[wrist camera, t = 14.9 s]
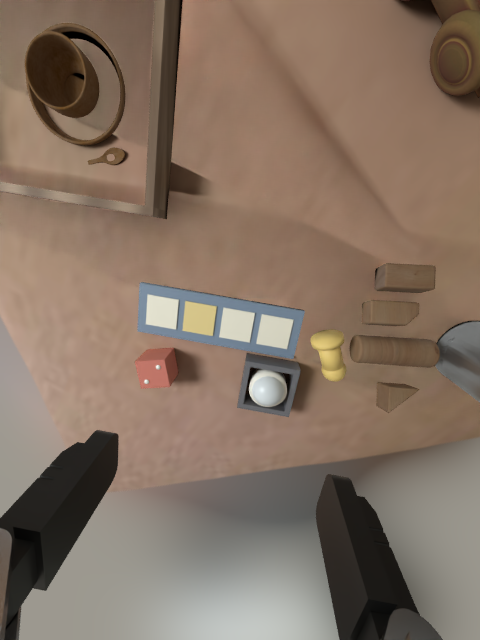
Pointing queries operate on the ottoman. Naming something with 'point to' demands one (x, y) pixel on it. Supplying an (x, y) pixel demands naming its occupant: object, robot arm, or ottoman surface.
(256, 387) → the dome
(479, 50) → the wooden toy train
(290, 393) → the base
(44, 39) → the place setting
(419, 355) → the wooden block set
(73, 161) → the ottoman surface
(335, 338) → the pawn
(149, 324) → the board
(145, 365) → the die
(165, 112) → the serving frame
